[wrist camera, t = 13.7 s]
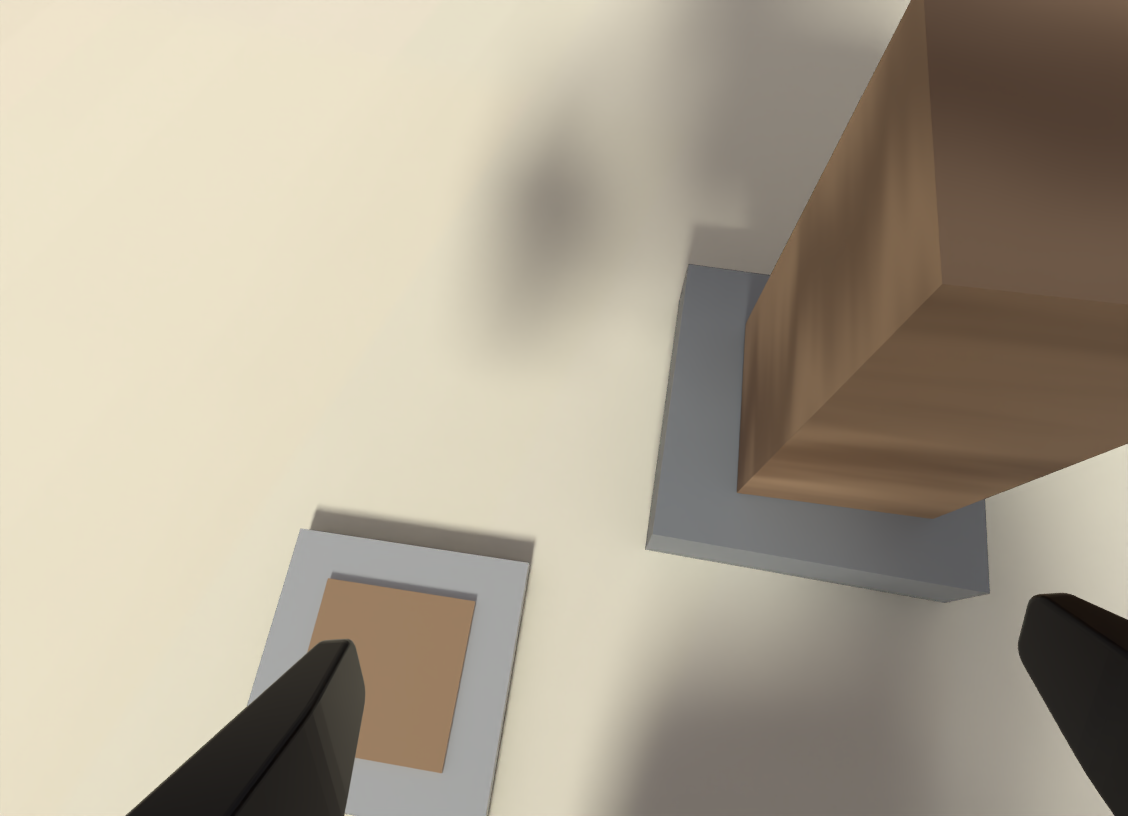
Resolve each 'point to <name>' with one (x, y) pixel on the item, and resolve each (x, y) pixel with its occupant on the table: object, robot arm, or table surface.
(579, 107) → the table surface
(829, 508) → the slate block
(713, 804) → the table surface
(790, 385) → the walnut pillar
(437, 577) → the tile
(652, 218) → the table surface
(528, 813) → the table surface
